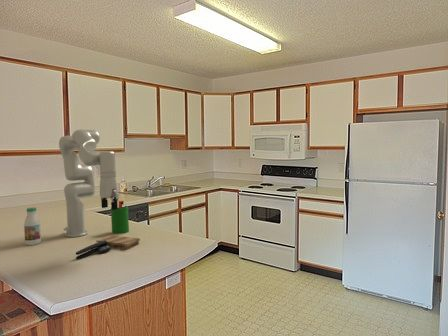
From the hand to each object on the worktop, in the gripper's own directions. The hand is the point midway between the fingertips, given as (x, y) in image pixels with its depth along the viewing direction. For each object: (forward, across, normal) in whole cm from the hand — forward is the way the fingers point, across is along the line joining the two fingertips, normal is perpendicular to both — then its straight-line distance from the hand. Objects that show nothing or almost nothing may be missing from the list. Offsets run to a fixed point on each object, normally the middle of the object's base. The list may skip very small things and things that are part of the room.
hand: (109, 208), depth 168 cm
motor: (+21, -28, +22) cm, 41 cm away
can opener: (+22, 0, -10) cm, 24 cm away
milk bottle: (+21, -44, -23) cm, 54 cm away
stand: (+22, -5, +7) cm, 23 cm away
